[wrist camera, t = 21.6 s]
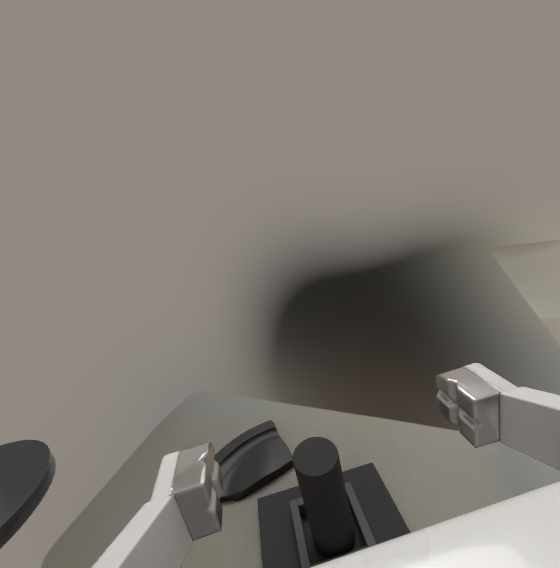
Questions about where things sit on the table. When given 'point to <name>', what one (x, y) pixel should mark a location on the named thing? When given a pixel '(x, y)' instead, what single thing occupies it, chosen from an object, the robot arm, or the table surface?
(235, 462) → the dark sector wedge
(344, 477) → the base pad
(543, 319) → the table surface
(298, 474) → the dark cylindrical post
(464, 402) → the robot arm
